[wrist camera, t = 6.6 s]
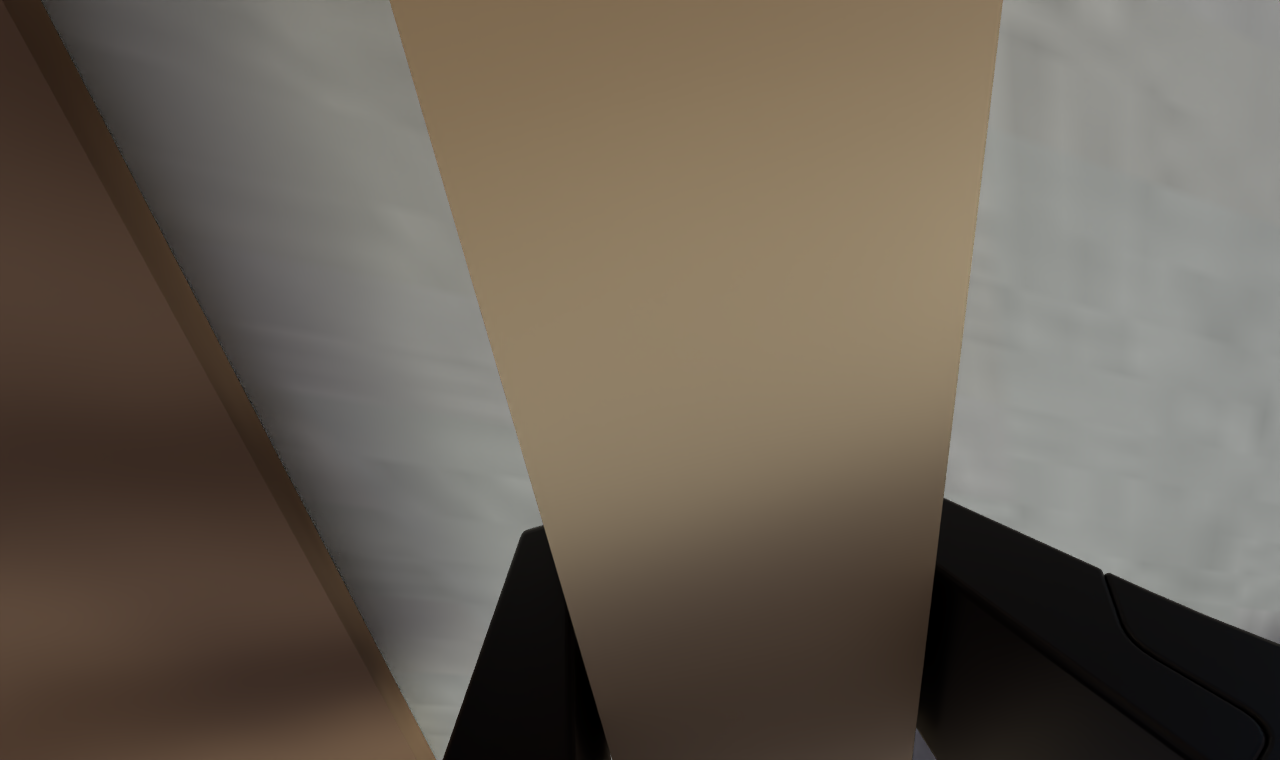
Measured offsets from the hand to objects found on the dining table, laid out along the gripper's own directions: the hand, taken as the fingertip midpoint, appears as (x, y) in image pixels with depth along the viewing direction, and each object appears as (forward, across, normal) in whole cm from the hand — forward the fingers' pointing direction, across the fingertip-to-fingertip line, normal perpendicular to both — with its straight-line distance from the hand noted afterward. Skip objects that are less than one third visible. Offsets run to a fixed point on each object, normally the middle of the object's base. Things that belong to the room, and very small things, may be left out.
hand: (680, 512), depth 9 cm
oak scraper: (+1, 0, 0) cm, 1 cm away
